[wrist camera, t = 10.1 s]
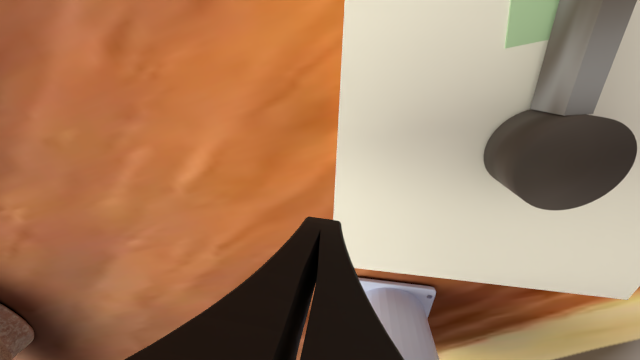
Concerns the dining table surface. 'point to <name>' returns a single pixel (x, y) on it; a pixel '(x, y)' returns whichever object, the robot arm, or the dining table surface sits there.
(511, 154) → the grey lever with knob
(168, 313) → the dining table surface
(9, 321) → the ceramic pot
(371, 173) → the dial plate
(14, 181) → the dining table surface
